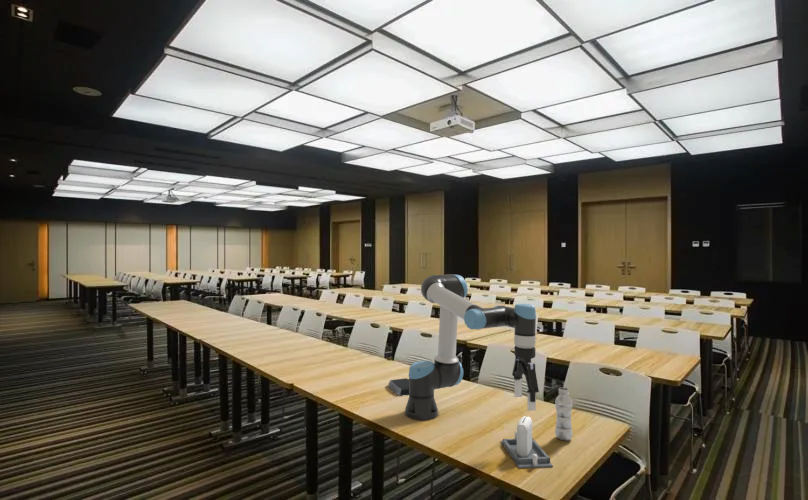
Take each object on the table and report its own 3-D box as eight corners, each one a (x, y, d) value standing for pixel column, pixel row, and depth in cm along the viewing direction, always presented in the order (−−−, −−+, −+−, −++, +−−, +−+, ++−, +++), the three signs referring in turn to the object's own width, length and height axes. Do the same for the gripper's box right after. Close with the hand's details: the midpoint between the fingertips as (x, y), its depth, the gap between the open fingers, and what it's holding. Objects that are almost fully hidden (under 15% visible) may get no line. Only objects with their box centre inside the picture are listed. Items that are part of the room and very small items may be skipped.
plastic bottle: (552, 435, 167) (551, 386, 168) (568, 435, 168) (567, 386, 168) (559, 443, 161) (559, 391, 161) (575, 442, 161) (575, 391, 162)
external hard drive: (398, 397, 214) (398, 389, 214) (386, 386, 232) (386, 379, 233) (421, 394, 219) (421, 386, 219) (408, 383, 237) (408, 376, 237)
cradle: (518, 468, 142) (518, 456, 142) (501, 442, 162) (501, 431, 162) (552, 467, 142) (552, 455, 142) (530, 441, 162) (530, 431, 162)
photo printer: (521, 444, 158) (521, 412, 158) (533, 447, 156) (533, 414, 156) (515, 456, 149) (515, 421, 149) (527, 458, 147) (527, 424, 147)
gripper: (548, 354, 140) (548, 416, 140) (522, 338, 165) (522, 391, 165) (527, 354, 140) (527, 416, 140) (504, 338, 165) (504, 391, 165)
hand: (524, 403), depth 153 cm, fingers open, 13 cm apart
